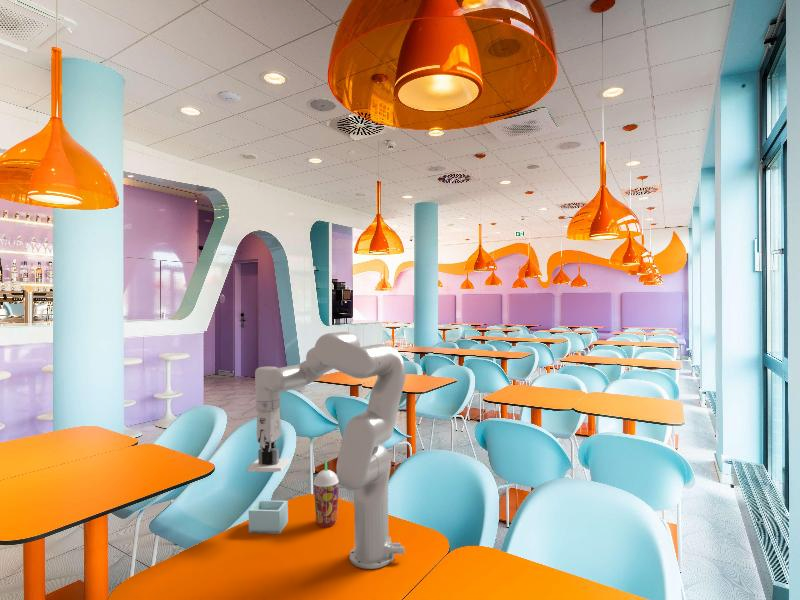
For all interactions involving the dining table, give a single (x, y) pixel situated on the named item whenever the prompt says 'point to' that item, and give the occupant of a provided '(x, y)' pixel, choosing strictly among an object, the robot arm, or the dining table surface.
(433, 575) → the dining table surface
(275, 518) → the tub
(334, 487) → the smoothie
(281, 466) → the lid
